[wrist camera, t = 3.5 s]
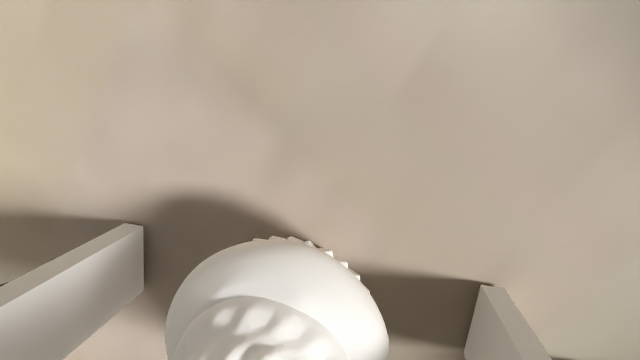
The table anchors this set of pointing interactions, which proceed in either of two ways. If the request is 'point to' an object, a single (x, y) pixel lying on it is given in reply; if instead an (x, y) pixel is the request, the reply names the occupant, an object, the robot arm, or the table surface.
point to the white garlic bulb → (274, 307)
